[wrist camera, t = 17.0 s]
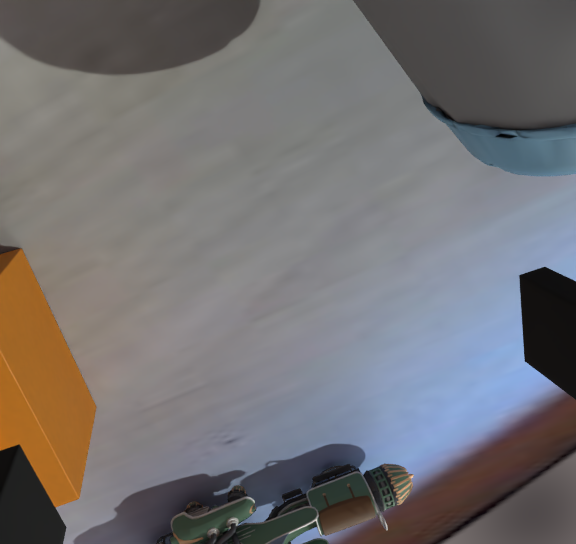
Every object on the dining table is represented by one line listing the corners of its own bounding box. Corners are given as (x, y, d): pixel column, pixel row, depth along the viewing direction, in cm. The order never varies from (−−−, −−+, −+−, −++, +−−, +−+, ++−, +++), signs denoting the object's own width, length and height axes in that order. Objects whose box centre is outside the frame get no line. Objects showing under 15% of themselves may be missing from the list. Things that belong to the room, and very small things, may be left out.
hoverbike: (130, 515, 45) (125, 602, 38) (389, 413, 48) (432, 474, 41) (168, 585, 49) (171, 676, 42) (406, 486, 52) (449, 555, 45)
